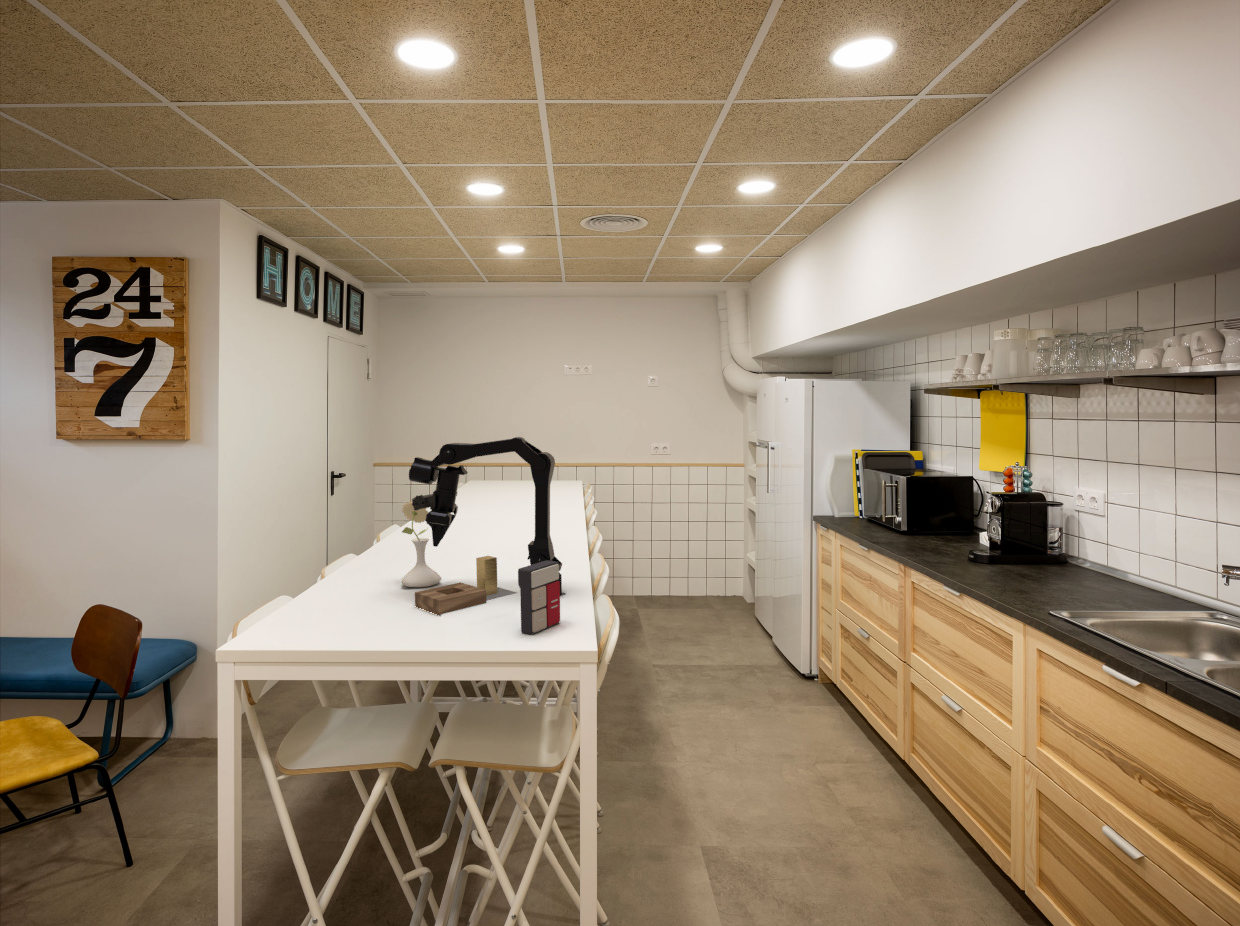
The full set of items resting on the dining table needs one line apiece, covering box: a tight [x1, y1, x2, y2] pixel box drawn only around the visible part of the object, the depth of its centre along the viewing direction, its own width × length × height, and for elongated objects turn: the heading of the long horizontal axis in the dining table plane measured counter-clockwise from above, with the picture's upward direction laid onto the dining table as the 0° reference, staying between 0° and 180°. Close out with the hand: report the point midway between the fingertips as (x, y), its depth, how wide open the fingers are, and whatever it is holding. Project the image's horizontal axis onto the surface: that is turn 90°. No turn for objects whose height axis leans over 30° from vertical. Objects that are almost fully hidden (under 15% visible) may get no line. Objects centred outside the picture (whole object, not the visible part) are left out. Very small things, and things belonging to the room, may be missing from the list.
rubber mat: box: [486, 586, 518, 602], centre depth 192 cm, size 12×12×1 cm
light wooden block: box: [475, 555, 498, 596], centre depth 191 cm, size 4×4×10 cm
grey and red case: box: [517, 560, 561, 635], centre depth 161 cm, size 11×4×15 cm, turn 148°
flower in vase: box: [400, 500, 442, 588], centre depth 202 cm, size 13×11×25 cm
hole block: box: [414, 582, 487, 616], centre depth 181 cm, size 12×14×4 cm
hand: (437, 542), depth 191 cm, fingers open, 9 cm apart
